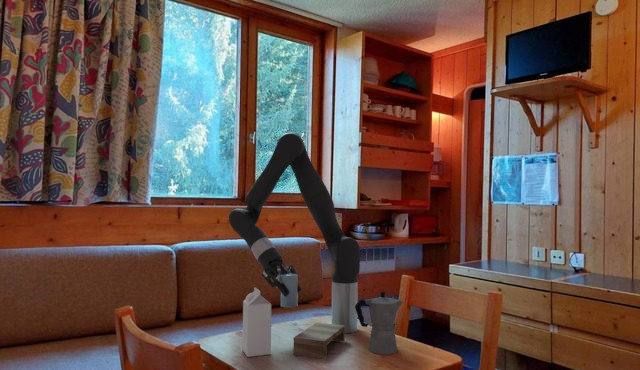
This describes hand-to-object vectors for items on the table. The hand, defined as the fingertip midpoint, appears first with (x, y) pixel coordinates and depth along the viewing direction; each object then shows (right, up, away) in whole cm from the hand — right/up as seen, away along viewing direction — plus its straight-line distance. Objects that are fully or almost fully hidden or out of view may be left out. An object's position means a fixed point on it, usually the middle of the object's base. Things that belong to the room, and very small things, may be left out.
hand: (293, 293), depth 149 cm
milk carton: (-11, -16, -11) cm, 22 cm away
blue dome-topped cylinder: (-1, -4, +1) cm, 5 cm away
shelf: (+9, -16, -5) cm, 19 cm away
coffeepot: (+27, -16, -8) cm, 32 cm away
